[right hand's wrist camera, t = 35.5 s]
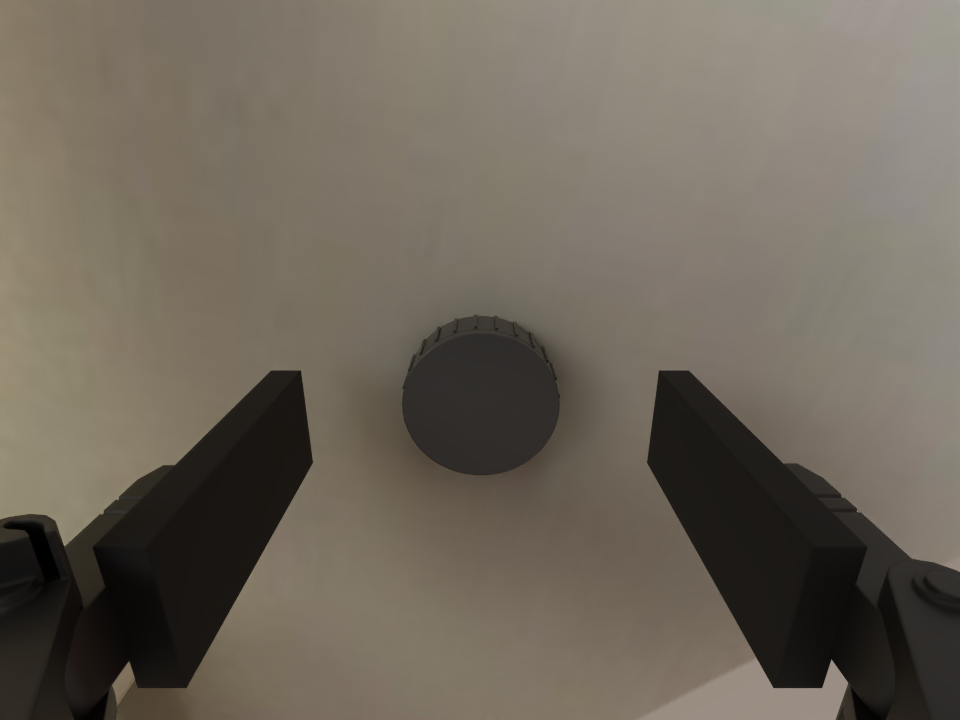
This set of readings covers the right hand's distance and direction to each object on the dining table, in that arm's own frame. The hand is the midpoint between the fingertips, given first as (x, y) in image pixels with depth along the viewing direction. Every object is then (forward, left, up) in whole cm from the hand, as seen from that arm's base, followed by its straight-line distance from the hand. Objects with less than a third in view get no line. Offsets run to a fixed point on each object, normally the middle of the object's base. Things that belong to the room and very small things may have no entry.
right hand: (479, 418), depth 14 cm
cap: (0, 0, -1) cm, 1 cm away
